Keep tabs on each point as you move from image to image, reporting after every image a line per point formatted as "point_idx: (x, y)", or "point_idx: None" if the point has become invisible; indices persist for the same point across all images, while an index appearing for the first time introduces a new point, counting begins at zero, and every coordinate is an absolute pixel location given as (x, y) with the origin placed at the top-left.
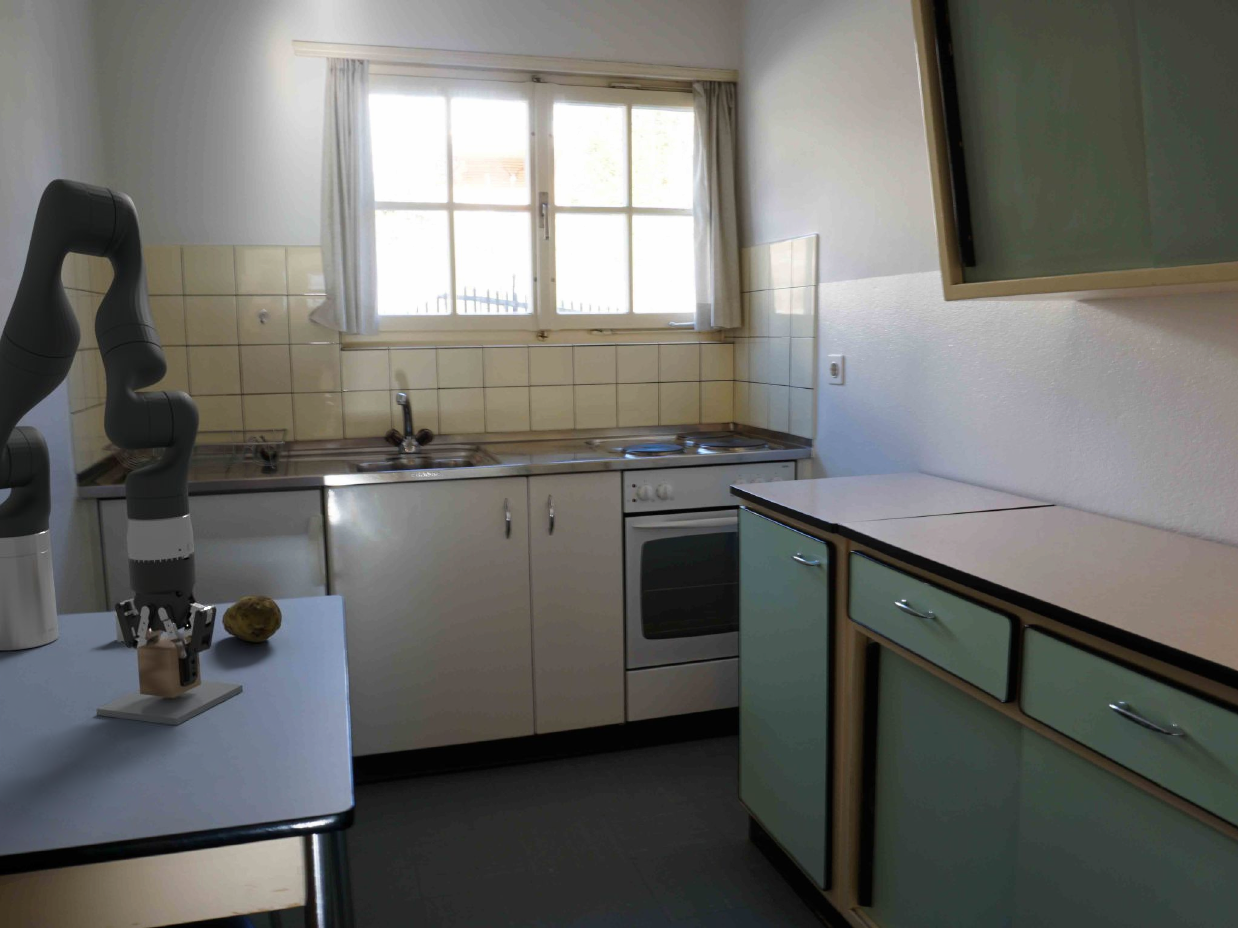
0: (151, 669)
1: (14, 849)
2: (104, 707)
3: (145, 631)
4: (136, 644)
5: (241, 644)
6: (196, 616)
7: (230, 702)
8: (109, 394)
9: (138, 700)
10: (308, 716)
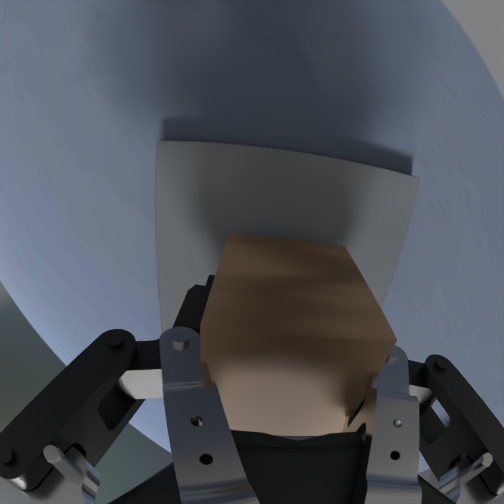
0: (311, 281)
1: None
2: (405, 186)
3: (379, 418)
4: (415, 373)
5: None
6: (22, 456)
7: (144, 287)
8: None
9: (348, 242)
10: (2, 242)
